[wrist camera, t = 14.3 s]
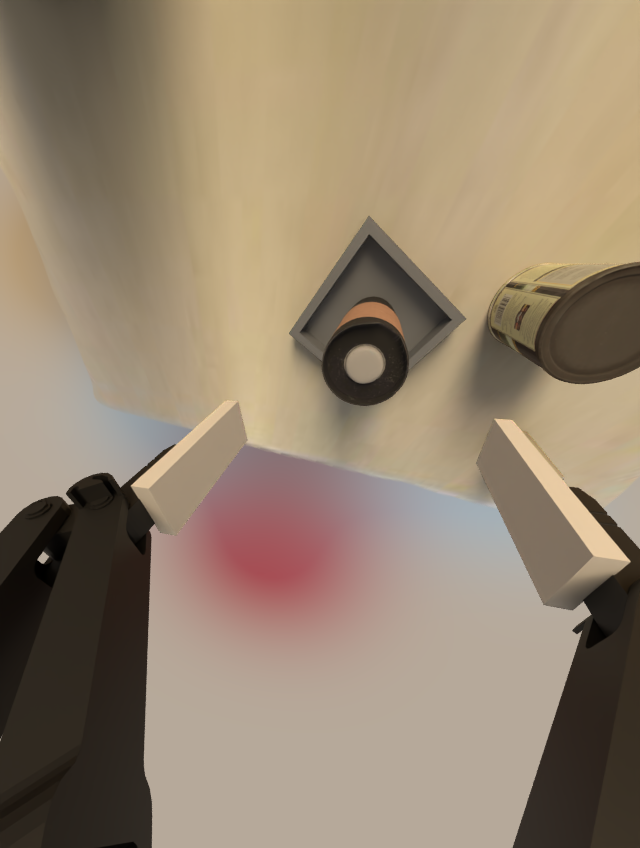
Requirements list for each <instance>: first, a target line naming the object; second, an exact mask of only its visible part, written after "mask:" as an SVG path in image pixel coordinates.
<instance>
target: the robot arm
mask: <svg viewBox="0 0 640 848" xmlns="http://www.w3.org/2000/svg"><path fill="white" fill-rule="evenodd" d="M246 442H247V436H246V432H245V427H244V423H243V419H242V415H241V411H240V407H239V402H238V401H229V400H226V401H225V402H224V403H222V404H221V405H220V406H219V407H218V408H217V409H216V410H215V411H213V412H212V413H211V414H210V415H209V416H208V417H207V418H206V419H205V420H203V421H202V422H201V423H200V424H199V425H198V426H197V427H196V428H195V429H193V430H192V431H191V432H190V433H189V434H188V435H187V436H186V437H185V438H183V439H182V440H181V441H180V442H179V443H178V444H177V445H176V444H175V445H172V446H171V447H169V448H167V449H165V450H163V451H162V452H161V453H160V454H159V455H158V456H157V457H155V459H154V460H152V461H151V462H150V463H148V465H147V466H145V467H144V468H143V469H141V470H140V471H139V472H138V473H137V474H136V475H135V476H133V477H132V478H131V479H130V480H129V481H128V482H127V483H125V484H124V485H123V486H122V487H121V488H120V487H119V485H118V484H117V482H116V481H115V479H114V478H113V476H112V475H110V474H109V473H99V474H95V475H91V476H89V477H86V478H84V479H82V480H80V481H79V482H77V483H75V484H74V485H73V486H72V487H70V488H69V490H68V491H67V493H66V495H67V496H68V497H69V498H70V499H71V500H72V501H73V502H74V504H72V505H68V504H67V503H66V502H65V501H64V500H63V499H62V498H61V497H58V496H53V497H48V498H44V499H41V500H38V501H37V502H34V503H32V504H30V505H29V506H27V507H26V508H24V509H23V510H22V511H21V512H19V513H18V514H17V515H16V516H15V518H13V520H12V521H11V522H10V523H9V524H8V525H7V526H6V527H5V528H4V530H3V531H2V532H1V533H0V738H1V736H2V738H1V741H0V848H152V801H151V795H150V788H149V785H148V782H147V780H146V777H145V772H144V734H145V732H144V731H145V706H146V703H145V702H146V676H147V648H148V620H149V619H148V618H149V591H150V563H151V533H150V531H149V530H150V528H151V527H152V526H153V525H154V524H155V525H156V527H157V528H158V530H159V531H160V533H165V534H170V535H177V533H179V531H180V530H181V529H182V527H183V526H184V525H185V523H186V522H187V521H188V519H189V518H190V516H191V515H192V514H193V513H194V511H195V510H196V508H197V507H198V506H199V504H200V503H201V502H202V500H203V499H204V498H205V496H206V495H207V493H208V492H209V491H210V490H211V488H212V487H213V486H214V484H215V483H216V482H217V480H218V479H219V477H220V476H221V475H222V474H223V472H224V471H225V470H226V468H227V467H228V466H229V464H230V463H231V462H232V460H233V459H234V458H235V456H236V455H237V454H238V452H239V451H240V450H241V448H242V447H243V446H244V444H245V443H246ZM476 464H477V466H478V468H479V470H480V472H481V474H482V476H483V478H484V481H485V483H486V485H487V487H488V489H489V491H490V493H491V495H492V497H493V499H494V502H495V504H496V506H497V508H498V510H499V512H500V514H501V516H502V518H503V520H504V523H505V525H506V527H507V529H508V531H509V533H510V535H511V537H512V539H513V541H514V543H515V545H516V548H517V550H518V552H519V554H520V556H521V558H522V560H523V562H524V565H525V566H526V569H527V571H528V573H529V575H530V577H531V579H532V581H533V583H534V586H535V588H536V590H537V592H538V594H539V596H540V598H541V600H542V602H543V605H546V606H552V607H557V608H563V609H568V610H574V609H575V608H576V607H577V606H578V605H580V604H581V603H582V602H583V601H584V603H585V604H586V606H587V607H588V609H589V611H590V613H591V614H592V615H590V616H589V617H588V618H586V619H585V620H584V621H582V622H581V623H580V624H578V625H577V626H576V627H575V628H574V629H573V632H575V633H576V634H578V633H579V632H581V631H582V630H583V631H582V634H581V637H580V640H579V643H578V646H577V649H576V652H575V655H574V659H573V662H572V665H571V668H570V671H569V674H568V678H567V681H566V683H565V686H564V690H563V693H562V696H561V699H560V702H559V706H558V708H557V712H556V715H555V718H554V721H553V724H552V727H551V730H550V733H549V736H548V740H547V743H546V746H545V749H544V752H543V755H542V758H541V761H540V764H539V767H538V770H537V774H536V777H535V780H534V783H533V786H532V789H531V792H530V795H529V798H528V801H527V805H526V808H525V811H524V814H523V817H522V820H521V823H520V826H519V829H518V833H517V836H516V839H515V842H514V845H513V848H640V549H639V548H638V547H637V546H636V544H635V543H634V542H633V541H632V540H631V539H630V538H629V537H628V536H627V534H626V533H625V532H624V531H623V530H622V529H621V528H620V527H617V524H616V522H615V521H614V520H613V519H612V518H611V517H610V516H608V515H607V512H606V511H605V510H604V509H603V508H602V507H601V506H600V505H599V503H598V502H597V501H596V500H595V499H593V498H592V497H591V496H589V495H588V494H586V493H585V492H584V491H582V490H581V489H579V488H575V487H568V486H567V485H566V484H565V482H564V481H563V480H562V479H561V478H560V476H559V475H558V474H557V473H556V472H555V470H554V469H553V468H552V467H551V466H550V464H549V463H548V462H547V461H546V460H545V458H544V457H543V456H542V455H541V454H540V452H539V451H538V450H537V449H536V448H535V446H534V445H533V444H532V443H531V442H530V440H529V439H528V438H527V437H526V436H525V434H524V433H523V432H522V431H521V430H520V428H519V427H518V426H517V425H516V424H515V422H514V421H513V420H506V419H494V420H493V423H492V425H491V428H490V430H489V433H488V435H487V437H486V440H485V442H484V445H483V447H482V450H481V452H480V455H479V457H478V460H477V462H476ZM43 551H44V552H45V553H46V554H47V555H48V556H49V558H48V559H47V561H46V562H45V563H44V564H42V563H40V562H39V561H38V560H37V559H38V557H39V556H40V555H41V554H42V552H43ZM2 734H3V735H2Z"/></svg>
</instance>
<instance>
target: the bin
mask: <svg viewBox="0 0 640 848" xmlns="http://www.w3.org/2000/svg"><path fill="white" fill-rule="evenodd" d="M367 297H380V298H383V299H384V300H386V301H387V302H389V304H390V305H391V306H392V307H393V309H394V311H395V313H396V315H397V317H398V319H399V321H400V324H401V328H402V332H403V335H404V339H405V343H406V347H407V350H408V355H409V370H410V369H411V368H412V367H413V366H414V365H415V364H416V363H417V362H419V361H420V360H421V359H422V358H423V357H424V356H425V355H426V354H428V353H429V352H430V351H431V350H432V349H433V348H434V347H435V346H436V345H438V344H439V343H440V342H441V341H442V340H443V339H444V338H445V337H447V336H448V335H449V334H450V333H451V332H452V331H453V330H454V329H456V328H457V327H458V326H459V325H460V324H461V323H462V322H463V321H465V320H466V318H465V317H464V316H463V315H462V314H461V313H460V311H459V310H458V309H457V308H456V307H455V306H454V305H453V304H452V303H451V302H450V301H449V300H448V299H447V298H446V297H445V296H444V295H443V293H442V292H441V291H440V290H439V289H438V288H437V287H436V286H435V285H434V284H433V283H432V282H431V281H430V280H429V279H428V278H427V277H426V275H425V274H424V273H423V272H422V271H421V270H420V269H419V268H418V267H417V266H416V265H415V264H414V263H413V262H412V261H411V260H410V259H409V258H408V256H407V255H406V254H405V253H404V252H403V251H402V250H401V249H400V248H399V247H398V246H397V245H396V244H395V243H394V242H393V241H392V240H391V238H390V237H389V236H388V235H387V234H386V233H385V232H384V231H383V230H382V229H381V228H380V227H379V226H378V225H377V224H376V223H375V222H374V220H373V219H372V218H371V217H370V216H368V218H367V219H366V221H365V222H364V224H363V225H362V227H361V228H360V230H359V231H358V233H357V234H356V235H355V237H354V238H353V240H352V241H351V243H350V244H349V246H348V247H347V249H346V250H345V252H344V253H343V255H342V256H341V258H340V259H339V260H338V262H337V263H336V265H335V266H334V268H333V269H332V271H331V272H330V274H329V275H328V277H327V278H326V280H325V281H324V283H323V284H322V285H321V287H320V288H319V290H318V291H317V293H316V294H315V296H314V297H313V299H312V300H311V302H310V303H309V305H308V306H307V308H306V309H305V310H304V312H303V313H302V315H301V316H300V318H299V319H298V321H297V322H296V324H295V325H294V327H293V328H292V330H291V331H290V332H289V334H290V335H291V336H292V337H293V338H295V339H296V340H297V341H298V342H299V343H301V344H302V345H303V346H304V347H305V348H306V349H308V350H309V351H310V352H311V353H312V354H313V355H315V356H316V357H317V358H318V359H319V360H321V361H322V358H323V353H324V350H325V348H326V346H327V344H328V342H329V340H330V339H331V337H332V336H333V334H334V332H335V331H336V329H337V327H338V326H339V324H340V323H341V321H342V319H343V318H344V316H345V315H346V314H347V313H348V311H349V310H350V309H351V308H352V307H353V306H354V305H355V304H356V303H357V302H359V301H360V300H362V299H364V298H367Z"/></svg>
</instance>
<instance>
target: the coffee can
mask: <svg viewBox="0 0 640 848" xmlns="http://www.w3.org/2000/svg"><path fill="white" fill-rule="evenodd" d="M488 326H489V329H490V332H491V333H492V335H493V336H494V337H495V338H496V339H497V340H498V341H500V342H501V343H503V344H506V345H507V346H509V347H510V348H512V349H513V350H515V351H517V352H518V353H520V354H521V355H523V356H525V357H526V358H528V359H529V360H531V361H532V362H534V363H535V364H537V365H538V366H540V367H542V368H543V369H544V370H545V371H546V372H547V373H548V374H549V375H551V376H552V377H554V378H556V379H558V380H561V381H564V382H568V383H574V384H590V383H597V382H602V381H606V380H610V379H613V378H616V377H619V376H622V375H624V374H627V373H629V372H631V371H633V370H635V369H637V368H639V367H640V262H635V263H629V264H555V263H544V264H539V265H535V266H532V267H529V268H526V269H525V270H523V271H521V272H519V273H518V274H516V275H515V276H513V277H512V278H511V279H509V280H508V281H507V282H506V283H505V284H504V285H503V286H502V287H501V288H500V290H499V291H498V292H497V293H496V295H495V297H494V299H493V301H492V303H491V305H490V308H489V312H488Z"/></svg>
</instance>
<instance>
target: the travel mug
mask: <svg viewBox="0 0 640 848" xmlns="http://www.w3.org/2000/svg"><path fill="white" fill-rule="evenodd" d="M408 370H409V355H408V350H407V347H406V343H405V339H404V335H403V332H402V328H401V324H400V321H399V319H398V317H397V315H396V313H395V311H394V309H393V307H392V306H391V305H390V304H389V302H387V301H386V300H384V299H383V298H380V297H367V298H364V299H362V300H360V301H359V302H357V303H356V304H355V305H354V306H353V307H352V308H351V309H350V310H349V311H348V313H347V314H346V315H345V316H344V318H343V319H342V321H341V323H340V324H339V326H338V327H337V329H336V331H335V332H334V334H333V336H332V337H331V339H330V340H329V342H328V344H327V346H326V348H325V350H324V353H323V358H322V372H323V376H324V379H325V382H326V384H327V385H328V387H329V388H330V390H331V391H332V392H333V393H334V394H335V395H336V396H337V397H339V398H340V399H342V400H343V401H345V402H348V403H350V404H354V405H360V406H369V405H375V404H378V403H381V402H383V401H386V400H387V399H389V398H391V397H392V396H393V395H394V394H395V393H396V392H397V391H398V390H399V389H400V388H401V387H402V385H403V383H404V382H405V379H406V377H407V374H408Z"/></svg>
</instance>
